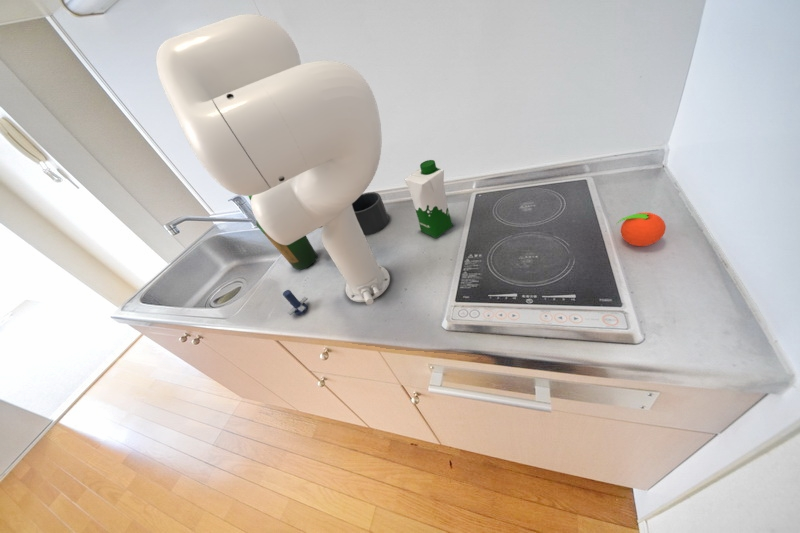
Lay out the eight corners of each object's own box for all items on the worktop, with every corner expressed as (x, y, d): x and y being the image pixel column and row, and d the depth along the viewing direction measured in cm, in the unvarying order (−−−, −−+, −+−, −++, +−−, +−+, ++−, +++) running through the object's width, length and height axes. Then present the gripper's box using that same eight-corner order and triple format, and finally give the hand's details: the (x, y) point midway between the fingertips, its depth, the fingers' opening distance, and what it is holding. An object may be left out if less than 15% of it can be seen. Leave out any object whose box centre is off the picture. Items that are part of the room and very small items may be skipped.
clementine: (611, 250, 58) (619, 224, 53) (610, 231, 62) (618, 204, 57) (660, 254, 54) (674, 226, 49) (657, 233, 58) (669, 205, 53)
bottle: (293, 257, 94) (240, 186, 76) (321, 247, 94) (274, 173, 76) (289, 277, 86) (229, 202, 68) (320, 266, 86) (267, 187, 68)
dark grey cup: (393, 224, 91) (385, 201, 85) (360, 239, 90) (349, 217, 84) (382, 210, 101) (374, 188, 95) (352, 224, 99) (342, 203, 93)
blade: (312, 312, 71) (297, 294, 66) (292, 322, 71) (275, 305, 66) (310, 298, 76) (296, 280, 71) (291, 308, 75) (275, 290, 70)
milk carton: (457, 225, 80) (445, 161, 67) (435, 241, 78) (419, 178, 65) (437, 217, 87) (423, 157, 74) (416, 232, 84) (398, 173, 71)
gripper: (253, 168, 61) (296, 231, 73) (318, 140, 63) (349, 206, 75) (255, 160, 67) (294, 220, 79) (314, 134, 68) (344, 197, 80)
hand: (321, 213), depth 77 cm, fingers closed on lid, 2 cm apart
